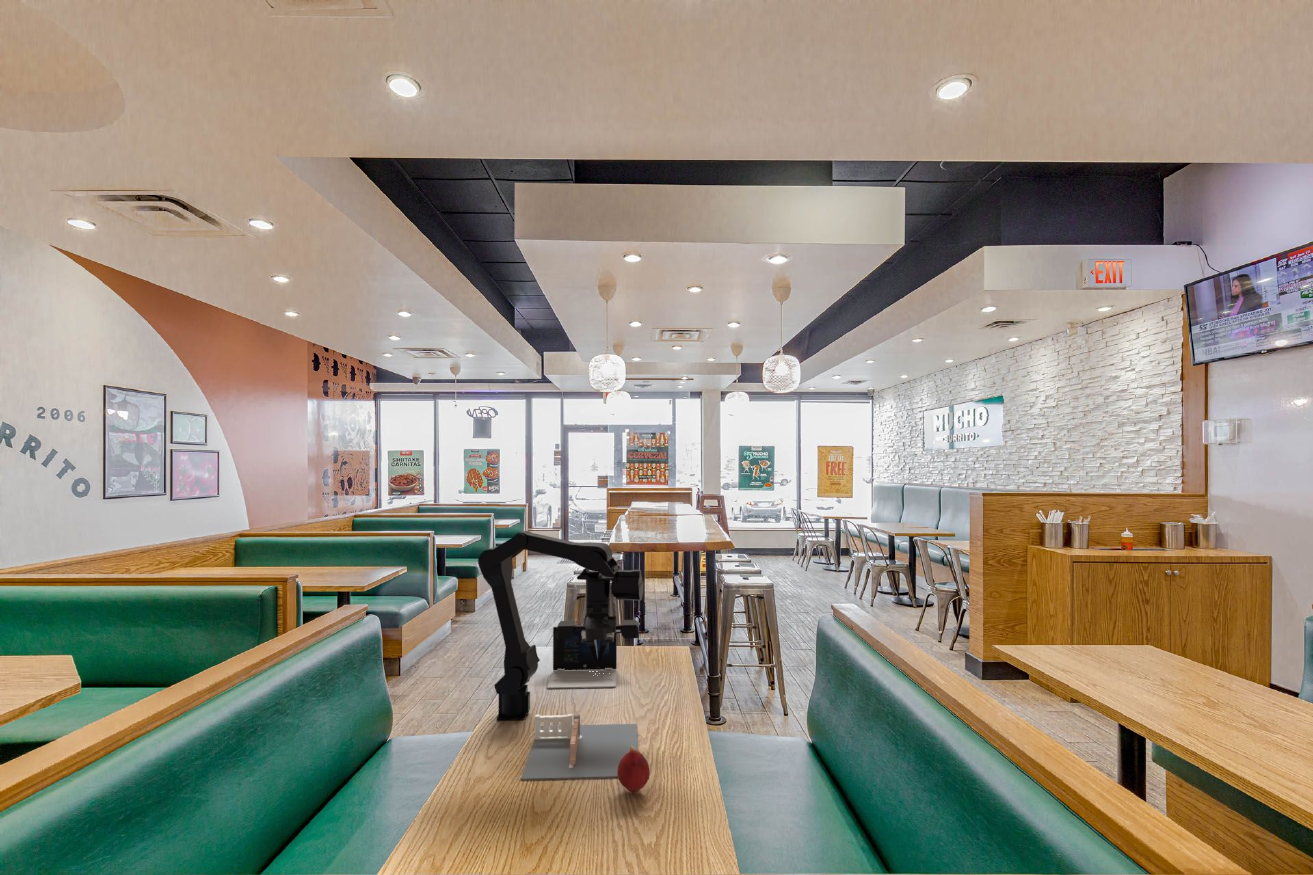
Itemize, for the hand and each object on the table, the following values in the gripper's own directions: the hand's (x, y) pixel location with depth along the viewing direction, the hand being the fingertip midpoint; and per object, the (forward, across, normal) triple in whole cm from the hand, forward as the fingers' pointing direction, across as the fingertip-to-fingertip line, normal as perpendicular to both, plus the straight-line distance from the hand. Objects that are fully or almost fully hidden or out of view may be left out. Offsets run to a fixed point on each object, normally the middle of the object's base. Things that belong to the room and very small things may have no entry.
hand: (597, 667), depth 137 cm
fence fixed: (+12, -9, -9) cm, 17 cm away
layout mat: (+12, -2, -14) cm, 19 cm away
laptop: (+13, -5, +26) cm, 29 cm away
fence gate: (+12, -4, -15) cm, 19 cm away
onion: (+12, +8, -30) cm, 33 cm away
